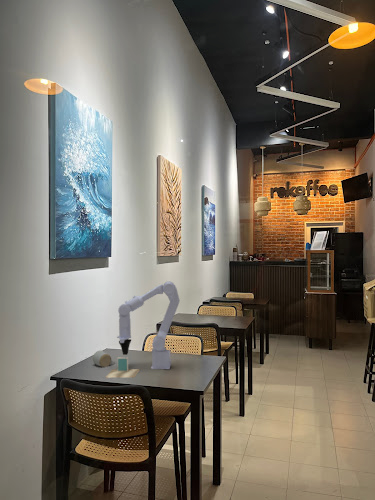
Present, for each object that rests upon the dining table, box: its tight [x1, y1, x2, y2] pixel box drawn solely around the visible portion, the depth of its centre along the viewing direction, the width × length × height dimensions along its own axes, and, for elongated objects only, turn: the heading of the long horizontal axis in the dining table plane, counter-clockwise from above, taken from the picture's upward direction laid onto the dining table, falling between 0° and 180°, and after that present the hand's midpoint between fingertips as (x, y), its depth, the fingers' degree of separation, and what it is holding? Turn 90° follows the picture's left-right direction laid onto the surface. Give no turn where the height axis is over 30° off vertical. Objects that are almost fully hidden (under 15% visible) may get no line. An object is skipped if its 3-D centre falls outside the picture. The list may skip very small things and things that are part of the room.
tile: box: [116, 356, 129, 371], centre depth 198 cm, size 5×2×6 cm, turn 86°
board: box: [104, 368, 141, 379], centre depth 194 cm, size 14×14×1 cm
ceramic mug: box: [92, 350, 116, 368], centre depth 212 cm, size 11×8×8 cm
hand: (125, 354), depth 205 cm, fingers closed
